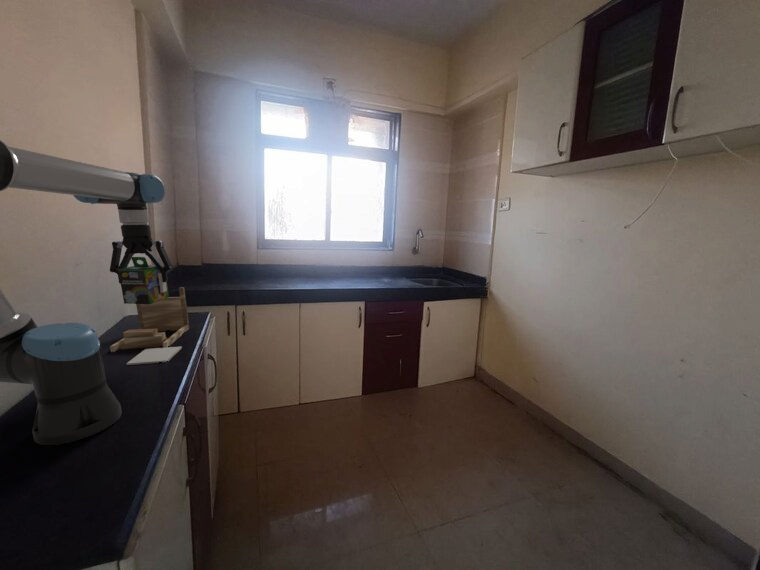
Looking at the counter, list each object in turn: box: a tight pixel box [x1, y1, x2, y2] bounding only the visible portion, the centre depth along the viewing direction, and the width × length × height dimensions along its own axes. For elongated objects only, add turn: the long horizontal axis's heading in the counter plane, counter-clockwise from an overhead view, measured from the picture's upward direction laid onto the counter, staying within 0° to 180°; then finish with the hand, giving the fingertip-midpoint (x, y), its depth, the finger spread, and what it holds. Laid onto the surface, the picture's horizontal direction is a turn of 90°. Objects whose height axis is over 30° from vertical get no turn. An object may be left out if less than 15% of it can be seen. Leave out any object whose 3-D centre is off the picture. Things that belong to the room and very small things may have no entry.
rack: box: [109, 286, 190, 353], centre depth 128 cm, size 22×18×18 cm
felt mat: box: [126, 346, 183, 366], centre depth 114 cm, size 12×12×1 cm
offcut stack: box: [119, 328, 168, 350], centre depth 123 cm, size 4×14×6 cm, turn 100°
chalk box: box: [118, 256, 170, 305], centre depth 109 cm, size 9×9×15 cm
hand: (145, 292), depth 110 cm, fingers closed on chalk box, 10 cm apart
